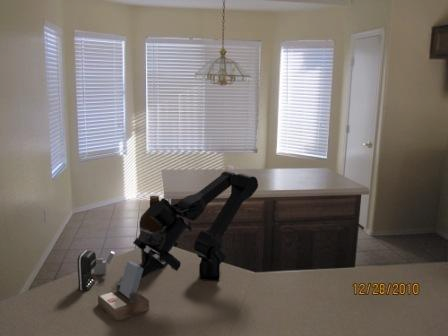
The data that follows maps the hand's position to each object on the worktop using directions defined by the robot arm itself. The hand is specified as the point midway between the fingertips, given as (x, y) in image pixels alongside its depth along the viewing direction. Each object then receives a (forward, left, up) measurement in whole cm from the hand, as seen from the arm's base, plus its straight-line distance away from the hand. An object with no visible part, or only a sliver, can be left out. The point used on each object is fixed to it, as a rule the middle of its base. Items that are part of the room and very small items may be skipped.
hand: (139, 277), depth 135 cm
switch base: (+3, +3, -8) cm, 9 cm away
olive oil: (+2, -27, -8) cm, 29 cm away
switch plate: (+6, +6, -5) cm, 10 cm away
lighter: (+17, -17, -8) cm, 25 cm away
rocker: (+3, +3, -5) cm, 7 cm away
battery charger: (+19, -7, -8) cm, 22 cm away
